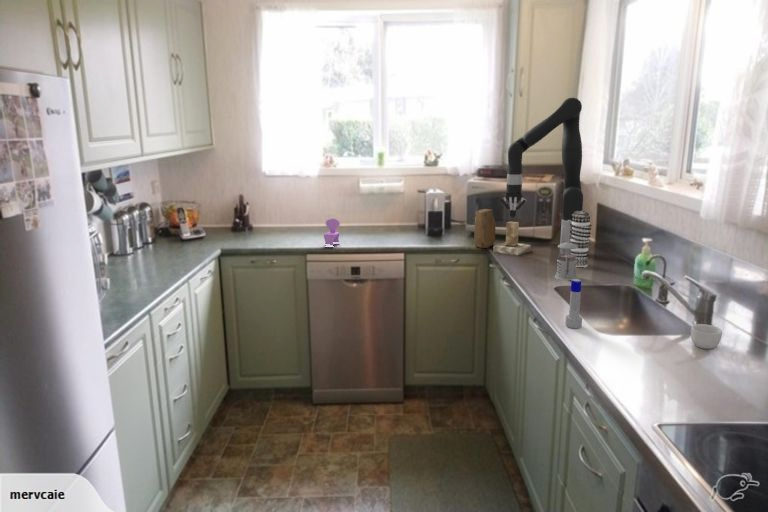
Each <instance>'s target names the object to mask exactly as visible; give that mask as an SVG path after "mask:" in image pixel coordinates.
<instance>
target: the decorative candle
mask: <svg viewBox="0 0 768 512" xmlns="http://www.w3.org/2000/svg"><path fill="white" fill-rule="evenodd" d="M572 215H573V218H572V224H570V225H571V226H572V227H570V230H571V231H570V233H571V235H570V241H571V243H573V244H576V245H577V246H578V248H576V249H570V250H569V252H571V254H574V255H576V259H577V262H576V264H577V265H576V266H575V267H584V268H587V267H588V266H589V265H588V264H589V258H588V257H589V253H590V252H589V242H590V239H589V238H591V234H592V233H591V232H590V231H591V230H592V228H591V227H592V224H591V216H592V215H591V214H590V212H588V211H586V210H582V211H575V212H574V214H572ZM569 254H570V253H569ZM574 265H575V264H574Z"/></svg>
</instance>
